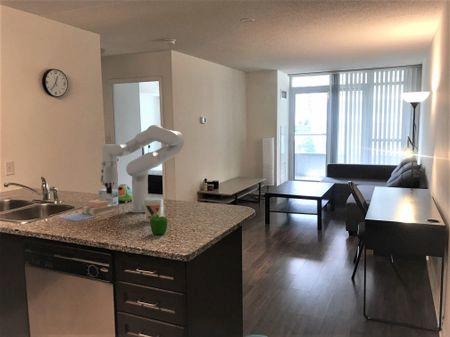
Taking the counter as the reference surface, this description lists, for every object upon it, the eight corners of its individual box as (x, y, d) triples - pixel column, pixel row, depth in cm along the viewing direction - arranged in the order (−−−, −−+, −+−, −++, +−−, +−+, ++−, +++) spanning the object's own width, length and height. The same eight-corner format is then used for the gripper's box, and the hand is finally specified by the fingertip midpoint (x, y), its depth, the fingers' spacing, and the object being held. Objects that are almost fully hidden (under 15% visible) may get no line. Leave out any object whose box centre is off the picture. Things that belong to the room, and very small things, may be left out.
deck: (114, 211, 237) (114, 205, 237) (95, 216, 226) (94, 209, 226) (101, 209, 244) (101, 203, 244) (82, 213, 233) (82, 207, 232)
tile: (107, 206, 234) (107, 201, 234) (98, 208, 229) (98, 203, 228) (97, 204, 240) (97, 199, 240) (87, 206, 234) (87, 201, 234)
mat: (95, 216, 224) (95, 216, 224) (75, 221, 213) (75, 220, 213) (78, 213, 233) (78, 213, 233) (58, 217, 222) (58, 217, 222)
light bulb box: (118, 205, 259) (118, 189, 258) (113, 206, 253) (112, 190, 252) (104, 204, 262) (103, 188, 261) (98, 206, 255) (98, 190, 254)
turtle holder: (137, 198, 282) (136, 182, 281) (128, 203, 264) (127, 186, 263) (120, 198, 283) (119, 182, 282) (110, 203, 265) (110, 186, 264)
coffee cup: (145, 223, 209) (144, 201, 208) (144, 219, 218) (143, 198, 217) (162, 221, 211) (162, 200, 210) (160, 218, 220) (160, 197, 219)
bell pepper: (168, 231, 192) (168, 211, 191) (166, 235, 183) (166, 215, 182) (151, 231, 191) (151, 211, 190) (148, 236, 183) (148, 215, 182)
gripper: (102, 165, 231) (103, 195, 233) (122, 163, 244) (122, 192, 246) (94, 164, 236) (95, 194, 237) (114, 162, 248) (114, 191, 250)
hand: (109, 193), depth 241 cm, fingers closed
